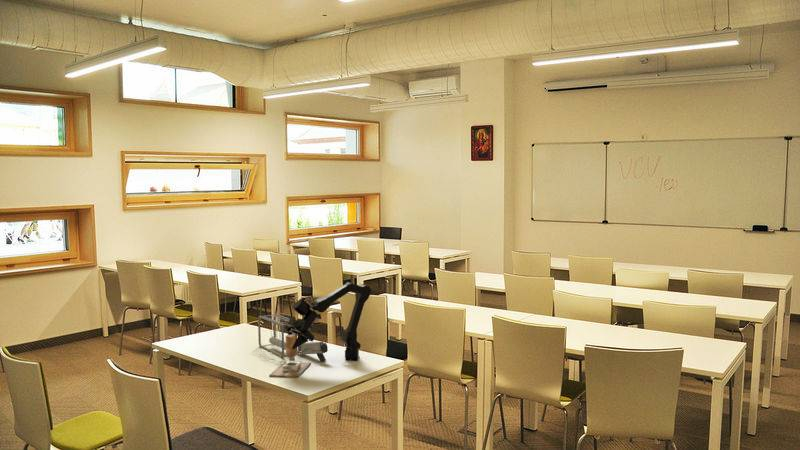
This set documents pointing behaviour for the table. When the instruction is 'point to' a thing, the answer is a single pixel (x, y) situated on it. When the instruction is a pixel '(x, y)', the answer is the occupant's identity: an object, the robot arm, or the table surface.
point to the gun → (314, 349)
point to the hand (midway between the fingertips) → (289, 347)
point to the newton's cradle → (273, 339)
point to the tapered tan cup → (289, 344)
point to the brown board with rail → (290, 369)
